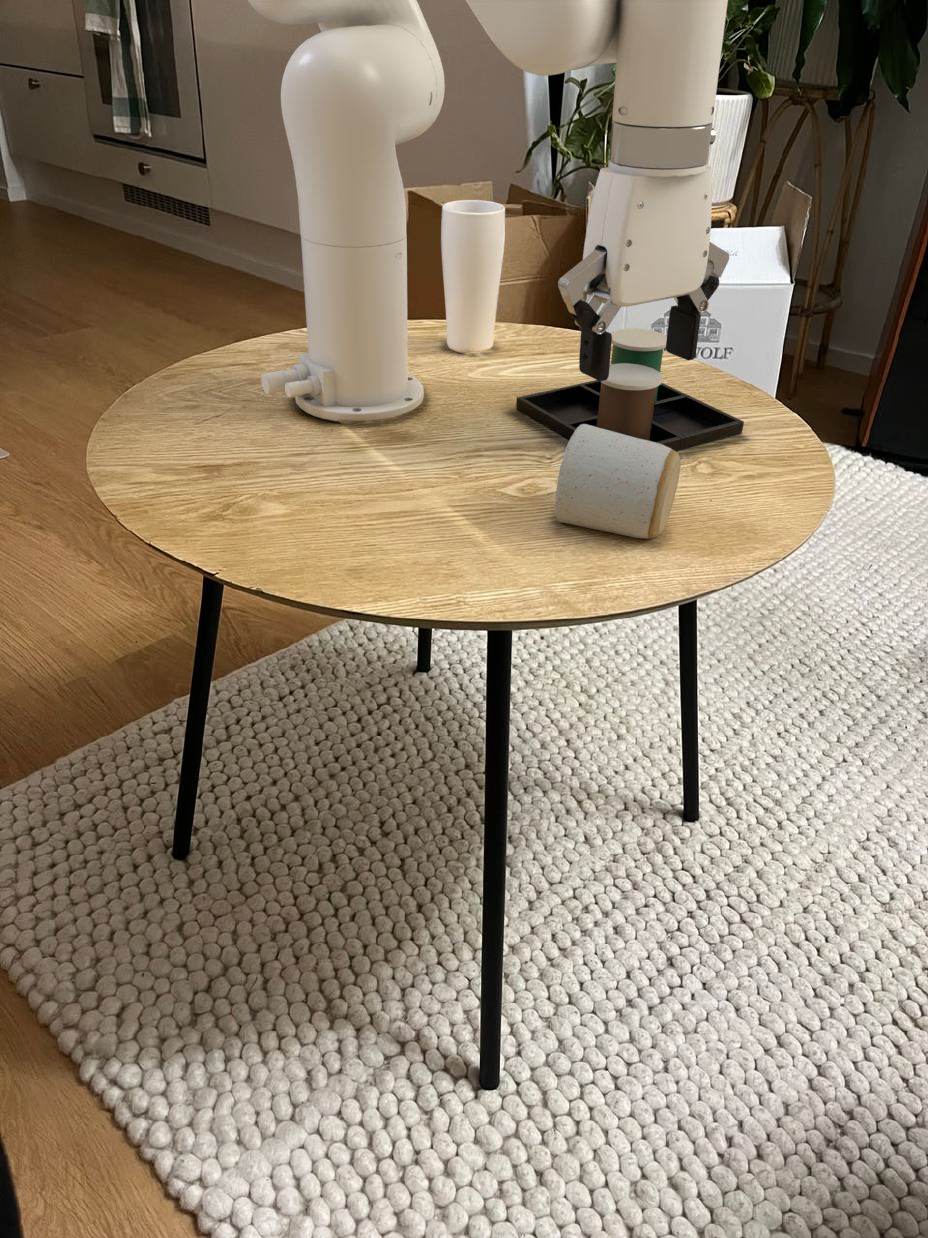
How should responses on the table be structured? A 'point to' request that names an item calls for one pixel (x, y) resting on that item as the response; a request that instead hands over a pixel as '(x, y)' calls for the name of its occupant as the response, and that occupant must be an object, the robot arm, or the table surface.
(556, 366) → the table surface
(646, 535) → the ceramic mug
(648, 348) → the cylinder
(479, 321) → the drinking glass
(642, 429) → the cylinder
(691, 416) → the tray
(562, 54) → the robot arm
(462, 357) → the table surface
